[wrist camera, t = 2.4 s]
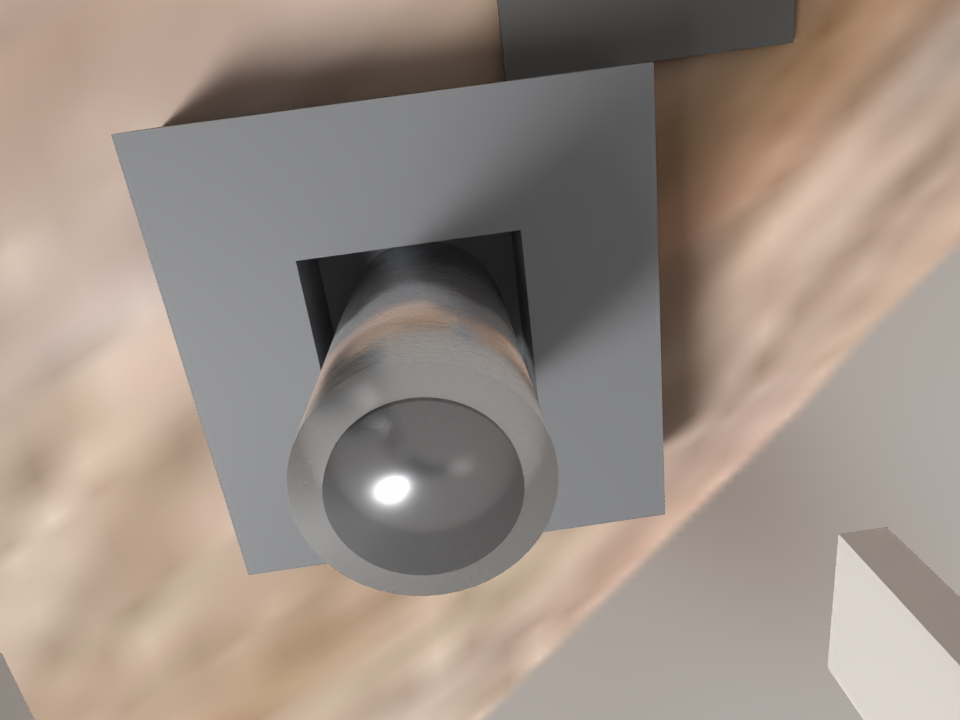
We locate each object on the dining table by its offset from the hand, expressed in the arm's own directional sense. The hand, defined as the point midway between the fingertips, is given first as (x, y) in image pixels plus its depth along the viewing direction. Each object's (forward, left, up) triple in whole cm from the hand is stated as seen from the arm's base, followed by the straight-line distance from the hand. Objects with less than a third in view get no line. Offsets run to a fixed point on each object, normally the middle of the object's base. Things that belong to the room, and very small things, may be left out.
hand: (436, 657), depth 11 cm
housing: (0, 0, -17) cm, 17 cm away
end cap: (0, 0, -17) cm, 17 cm away
